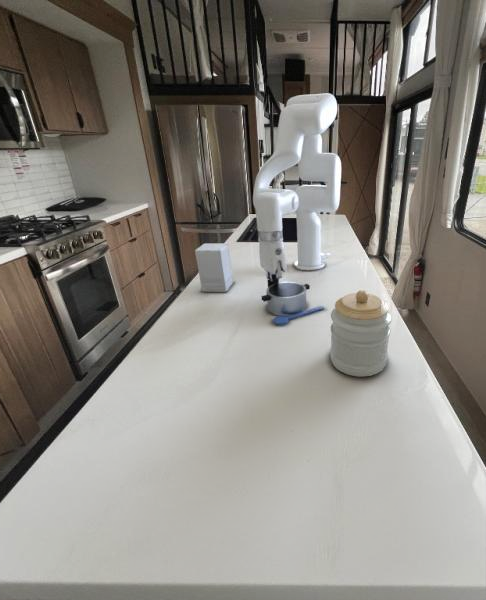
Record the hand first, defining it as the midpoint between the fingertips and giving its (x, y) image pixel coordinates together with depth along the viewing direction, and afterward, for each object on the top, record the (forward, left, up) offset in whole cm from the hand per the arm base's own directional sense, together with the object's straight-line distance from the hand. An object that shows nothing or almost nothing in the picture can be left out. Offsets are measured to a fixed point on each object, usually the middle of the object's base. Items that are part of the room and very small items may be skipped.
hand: (273, 290), depth 106 cm
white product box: (+12, -19, -3) cm, 23 cm away
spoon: (0, +16, -3) cm, 16 cm away
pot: (0, +8, -3) cm, 9 cm away
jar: (-1, +42, -3) cm, 42 cm away
